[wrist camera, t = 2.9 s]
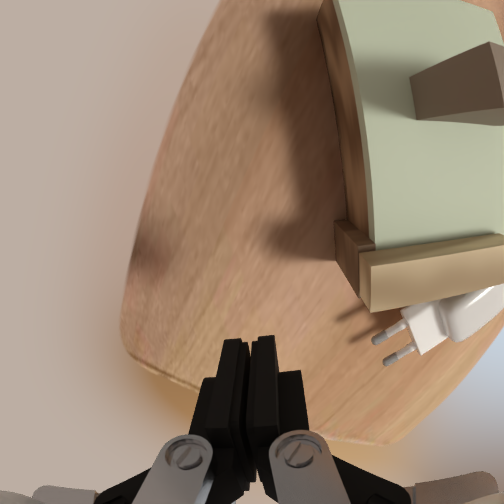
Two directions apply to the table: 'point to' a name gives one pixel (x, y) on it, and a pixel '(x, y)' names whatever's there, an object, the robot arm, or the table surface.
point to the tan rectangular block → (430, 271)
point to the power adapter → (444, 320)
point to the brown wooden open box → (346, 150)
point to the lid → (428, 117)
